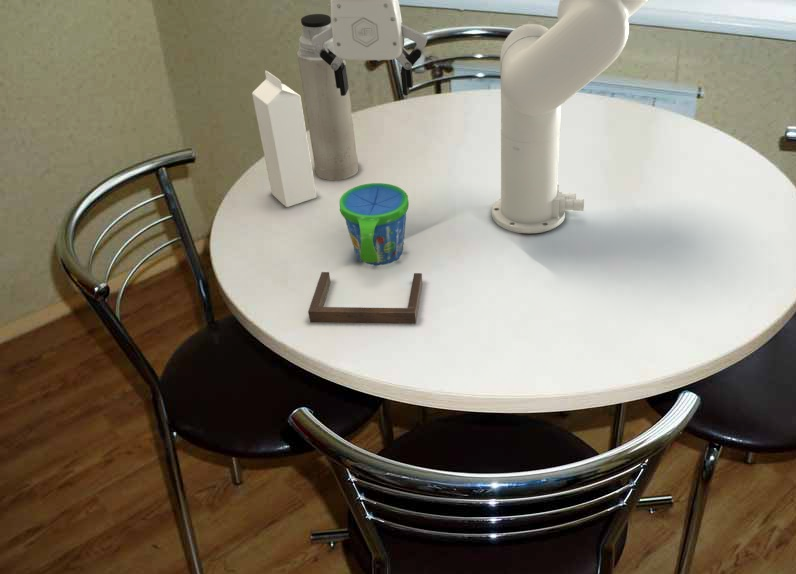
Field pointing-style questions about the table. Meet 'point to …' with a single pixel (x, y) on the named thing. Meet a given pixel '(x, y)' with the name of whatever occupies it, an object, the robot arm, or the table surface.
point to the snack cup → (376, 221)
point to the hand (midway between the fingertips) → (375, 92)
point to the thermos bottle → (326, 106)
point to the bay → (363, 314)
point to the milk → (284, 141)
